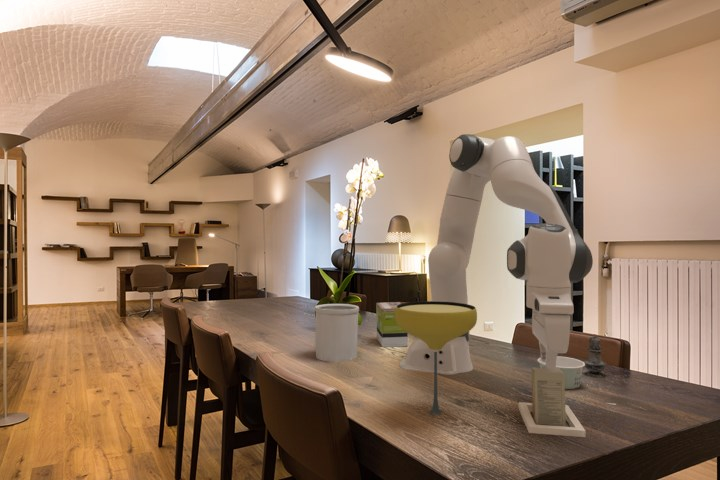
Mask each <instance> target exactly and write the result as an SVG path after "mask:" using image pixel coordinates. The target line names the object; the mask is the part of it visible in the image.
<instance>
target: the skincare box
mask: <svg viewBox="0 0 720 480" xmlns="http://www.w3.org/2000/svg"><path fill="white" fill-rule="evenodd" d="M565 390H566V389H565V380H564V372H563V371H562V369H561V368H555V369H548V368H547V367H540V366H538V367H536V366H532V367H531V393H532V394H531V398H532V399H531V400H532V402H531V403H532V407H533V412H532V418H533V420H534V422H535V425H549V426H564V427H567V423H566V422H567V420H566V414H565V405H566V391H565Z"/></svg>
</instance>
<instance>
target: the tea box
mask: <svg viewBox="0 0 720 480" xmlns="http://www.w3.org/2000/svg"><path fill="white" fill-rule="evenodd" d="M399 304H402V303H401V302H400V301H396V302H395V301H394V302H393V301H391V302H389V301H388V302H376V303H375V307H376V308H375V309H376V315H375V316H376V340H378V342H379V344H380V345H381V347H382V348H398V347H399V348H400V347H408V345H409V343H408V342H409V340H408V339H409V337H408V334H409V333H408V332H406V331H404V330H403V329H402V328H401V327H400V326H399V325H398V324H397V322H396V319H395V310H396V306H397V305H399Z"/></svg>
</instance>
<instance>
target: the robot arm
mask: <svg viewBox="0 0 720 480" xmlns="http://www.w3.org/2000/svg"><path fill="white" fill-rule="evenodd" d="M448 156H449V157H448V158H449V162H450V164H451V167H453V168H454V170H453V172H452V174H451V177H450V179H449V182H448V186H447V189H446V192H445V196H444V200H443V205H442V209H441V214H440V219H439V228H438V236H437V242H436V245H435V246H434V247H433V248H432V249H431V250H430V252H429V254H428V260H427V262H428V274H429V275H428V276H429V278H428V279H429V288H430V296H431V301H439V302H455V303H463V304H468V301H469V299H468V289H467V288H468V287H467V268H468V265H469V262H470V258H471V254H472V250H473V249H472V248H473V242H474V240H475V239H474V237H475V234H476V233H475V232H476V226H477V223H478V219H479V215H480V209H481V205H482V201H483V195H484V191H485V187H486V185H487V184H488V183H489V182H490V185H491V188H492V190H493V193H494V194H495V196H496V198H498V200H500V202H501V203H503V204H505V205H507V206H510V207H513V208H516V209H520V210H525V211H528V212H531V213H533V214H535V215H537V216H538V217H540V218H542V219H543V220H544V222H545V223H543V222H542V223H535V224H532V225H531V226H530V227H529V228H528V233H527V235H525V236H524V237H523V238H521V239H519V240H515V241H514V242H513V243H512V244H511V245H510V246H509V247H508V248H507V251H506V268H507V271H508V272H509V273H510V274H511V275H512V276H513V277H514V278H515V279H516V280H521V281H527V282H526V285H525V289H526V295H525V296H526V301H525V302H526V303H525V305H526V307H527V308H529V309H532V316H531V331H532V332H531V333H532V335H534V336H535V338H536V339H537V340H538V344H539V350H540V351H539V352H540V358H541V360H542V361H543V362H545V365H546V367H547V368H548V369H555V368H556V359H557V356H558V355H559V354H567V352H568V349H569V344H570V337H571V336H570V334H571V315H573V314H574V313H575V311H574V310H575V309H574V302H573V301H572V283H575V284H576V283H579V282H580V281H582V280H583V279H585V278H586V276H587V275H588V274H589V273H590V272H591V270H592V268H593V263H594V260H593V254H592V251H591V250H590V248H589V246H588V245H587V243H586V242H585V240H583V238H582V236H580V234H579V232H578V230H577V228H576V226H575V225H574V222H573V221H572V219H571V217H570V215H569V213H568V211H567V210H566V208H565V205H564V203H563V202H562V200H561V198H560V196H559V195H558V193H557V192H556V190H555V189H554V188H553V187H551V186H550V185H548V184H547V183H546V182H544V181H543V179H541V178H540V176H539V175H538V173H537V172H536V170H535V168H534V164H533V161H532V158H531V156H530V154H529V152H528V149H527V147H526V145H525V144H524V143H523V142H522V140H521V139H519V138H518V137H516V136H513V135H506V136H505V135H504V136H502V137H499V138H497V139H494V138H487V137H484V136H483V137H482V136H477V135H475V134H467V133H465V134H460V135H458V136H457V137H456V138H455V139H454V140H453V142H452V144H451V146H450V149H449V155H448ZM468 305H469V304H468ZM469 341H470V331H469V332H467V333H465V334H463V335H462V336H459V337H457V338H455V339H453V340H451V341H449V342H447V343H446V344H445V345H444V346H443V348H442V349H441V350H440V351H439V352H437V375H439V374H441V375H447V376H452V375H456V374H460V373H467V372H471V371H473V370H474V365H473V364H472V359H471V354H470V353H471V352H470V347H469V346H470V345H469ZM399 367H400V369H401V370H403V371H404V370H405V371H413V372H420V373H430V374H434V352H433V351H431V350H430V348H429V347H428V345H427V344H426V343H425V342H424V341H422V340H420V339H419V338H417V339H416V340H415V341H413V342H412V343H411V344H410V345H409V347H408V349H407V352H406V357H404V358H402V359H401V360H400V362H399Z"/></svg>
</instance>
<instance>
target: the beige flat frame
mask: <svg viewBox="0 0 720 480" xmlns="http://www.w3.org/2000/svg"><path fill="white" fill-rule="evenodd" d="M518 411H519V413H520V416H521V418H522V420H523V422H524V424H525V426H526V429H527V432H528V434H537V435H538V434H539V435H549V436H550V435H551V436H564V437H574V438H576V437H578V438H586V434H587V433H586V428H584V426H583V424H581V422H580V420H579V419H578V418H577V416H576V415H575V413H574V412H573V411H572V409H571V408H570V406H569V405H568V404H565V414H566V422H567V423H568V425H569V426H557V425H544V424H536V423H535V422H534V419H533V415H532V414H531V413H533V407H532V402H522V401H518Z"/></svg>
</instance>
